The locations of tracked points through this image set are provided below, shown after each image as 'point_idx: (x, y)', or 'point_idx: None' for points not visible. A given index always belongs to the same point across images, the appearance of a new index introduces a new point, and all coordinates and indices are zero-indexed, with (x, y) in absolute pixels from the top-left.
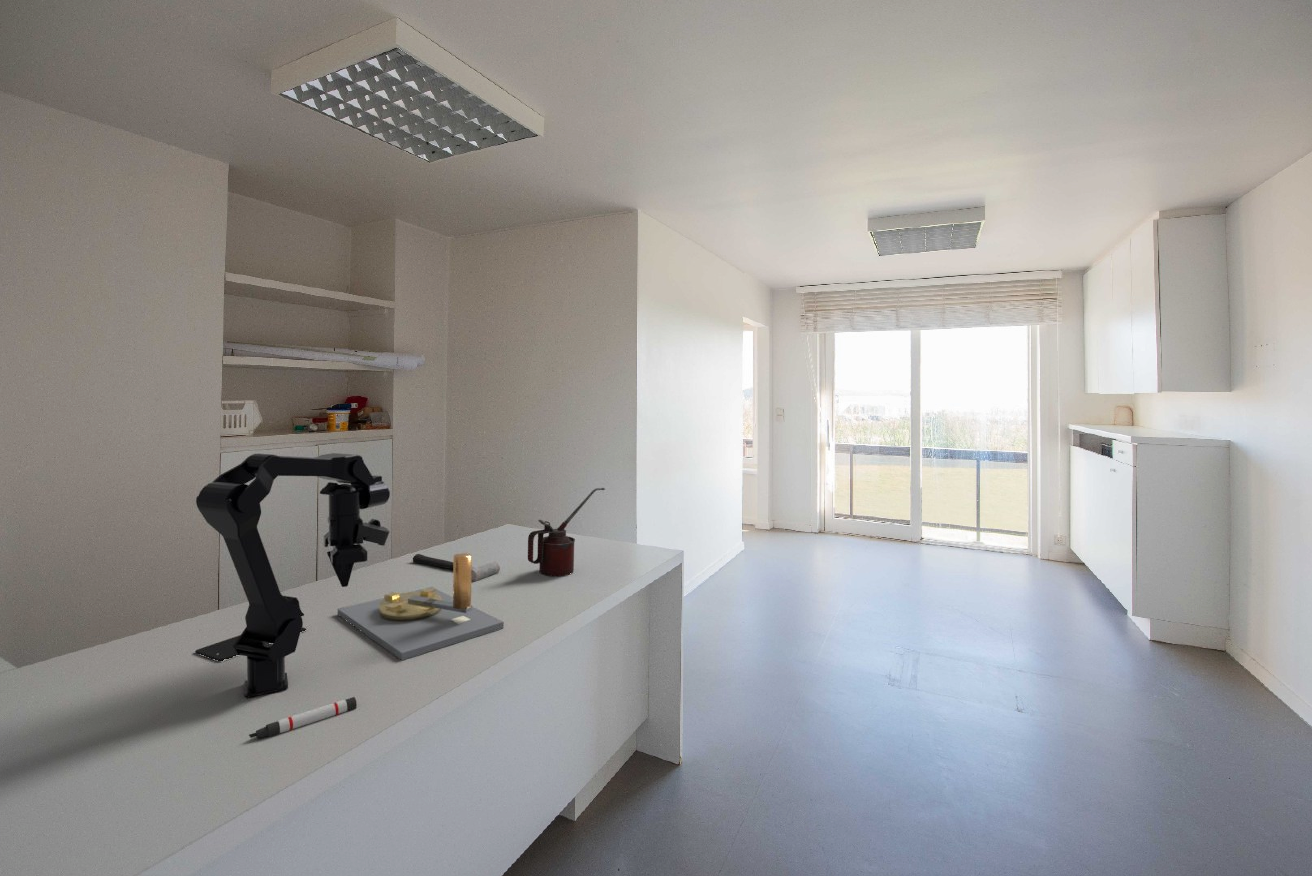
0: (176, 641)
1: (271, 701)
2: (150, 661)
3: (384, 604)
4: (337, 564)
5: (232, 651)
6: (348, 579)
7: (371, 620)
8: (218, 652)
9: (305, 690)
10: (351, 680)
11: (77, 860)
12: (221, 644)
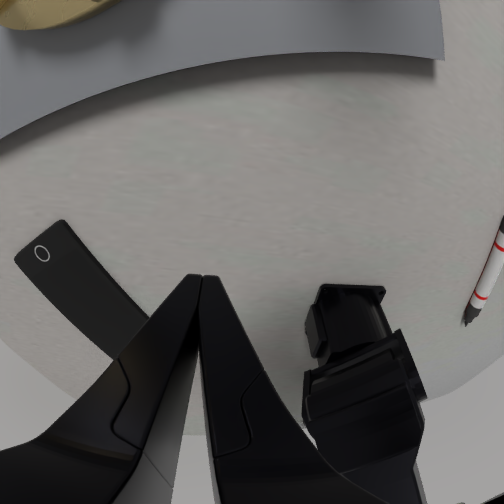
0: (72, 366)
1: (401, 304)
2: None
3: (37, 11)
4: (499, 495)
5: None
6: (234, 316)
7: (92, 52)
8: None
9: (410, 263)
10: (441, 190)
11: (477, 373)
12: (107, 344)
